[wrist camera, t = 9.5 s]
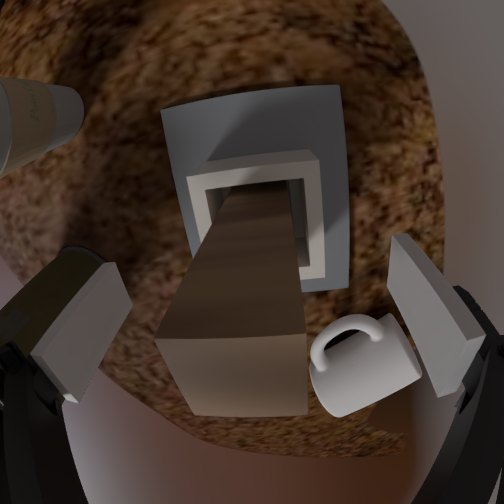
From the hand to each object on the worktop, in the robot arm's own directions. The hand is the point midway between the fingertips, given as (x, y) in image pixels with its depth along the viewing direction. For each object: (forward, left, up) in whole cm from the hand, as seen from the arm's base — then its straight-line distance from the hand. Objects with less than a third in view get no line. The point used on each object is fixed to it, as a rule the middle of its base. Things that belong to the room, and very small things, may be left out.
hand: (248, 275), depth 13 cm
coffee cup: (-12, -18, -12) cm, 25 cm away
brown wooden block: (0, 0, -10) cm, 10 cm away
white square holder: (0, 0, -11) cm, 11 cm away
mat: (0, 0, -12) cm, 12 cm away
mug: (+16, +8, -12) cm, 22 cm away
